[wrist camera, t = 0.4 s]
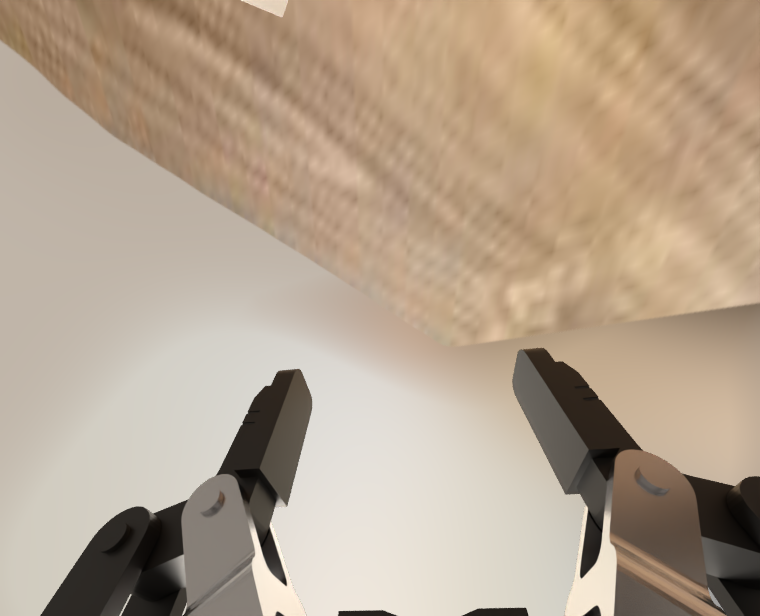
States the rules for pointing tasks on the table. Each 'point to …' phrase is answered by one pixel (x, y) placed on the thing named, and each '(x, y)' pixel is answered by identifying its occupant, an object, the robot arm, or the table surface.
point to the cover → (270, 5)
